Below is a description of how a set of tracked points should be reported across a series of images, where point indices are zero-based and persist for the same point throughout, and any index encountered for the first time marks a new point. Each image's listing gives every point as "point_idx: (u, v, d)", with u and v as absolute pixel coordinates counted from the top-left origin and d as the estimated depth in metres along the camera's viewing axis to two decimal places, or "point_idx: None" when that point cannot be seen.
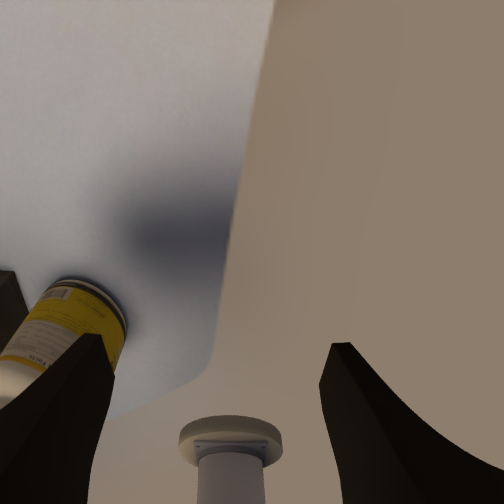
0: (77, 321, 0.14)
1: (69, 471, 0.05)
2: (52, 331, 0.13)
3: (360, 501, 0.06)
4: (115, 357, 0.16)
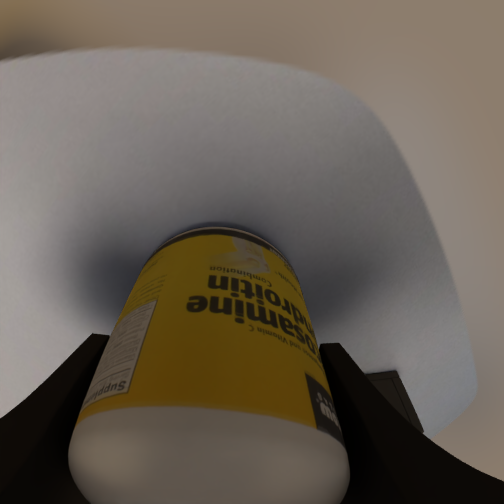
0: (121, 313, 0.08)
1: None
2: None
3: None
4: (222, 265, 0.08)
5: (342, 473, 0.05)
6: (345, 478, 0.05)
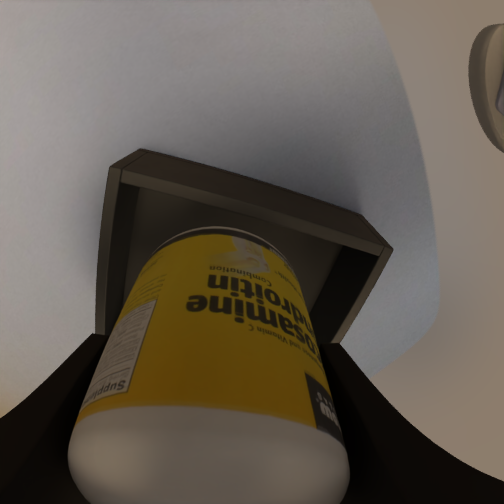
0: None
1: None
2: None
3: None
4: (222, 265, 0.08)
5: (342, 473, 0.05)
6: (345, 478, 0.05)
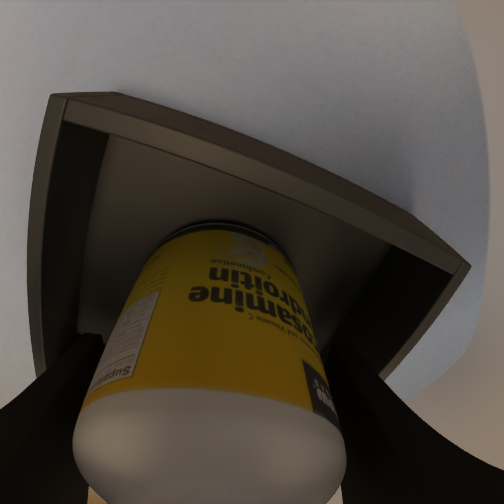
0: None
1: (69, 471, 0.05)
2: None
3: (360, 501, 0.06)
4: (223, 258, 0.09)
5: (338, 457, 0.05)
6: (341, 463, 0.05)
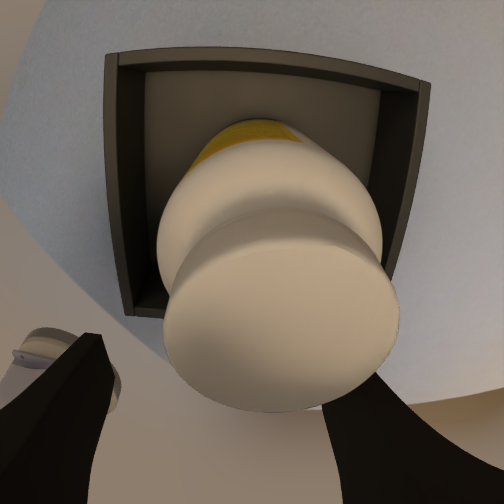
0: None
1: (69, 471, 0.05)
2: None
3: (360, 501, 0.06)
4: None
5: None
6: None
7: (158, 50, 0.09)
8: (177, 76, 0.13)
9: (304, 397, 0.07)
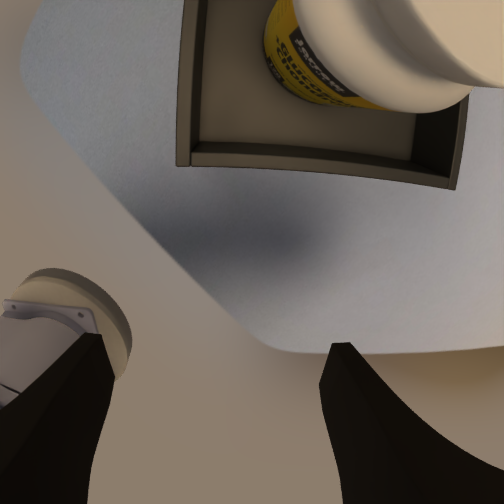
0: None
1: (69, 471, 0.05)
2: None
3: (360, 501, 0.06)
4: None
5: (345, 71, 0.07)
6: (338, 62, 0.07)
7: None
8: None
9: None
